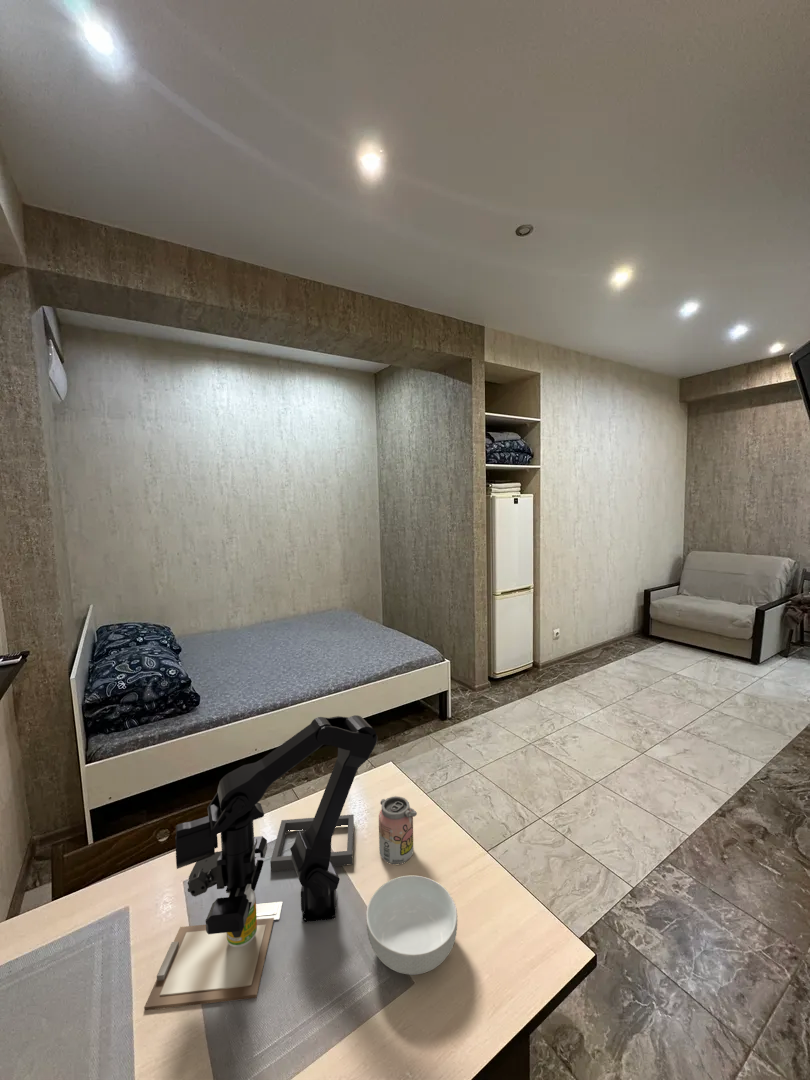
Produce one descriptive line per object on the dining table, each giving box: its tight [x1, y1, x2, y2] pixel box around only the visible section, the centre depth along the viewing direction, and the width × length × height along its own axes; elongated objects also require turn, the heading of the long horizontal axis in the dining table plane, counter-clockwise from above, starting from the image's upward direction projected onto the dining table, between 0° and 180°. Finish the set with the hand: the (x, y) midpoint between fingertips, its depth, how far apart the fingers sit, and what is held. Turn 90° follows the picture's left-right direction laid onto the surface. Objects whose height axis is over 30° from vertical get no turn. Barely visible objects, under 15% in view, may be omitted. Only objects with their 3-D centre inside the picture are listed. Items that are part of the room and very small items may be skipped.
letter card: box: [256, 901, 283, 922], centre depth 89 cm, size 6×4×1 cm, turn 95°
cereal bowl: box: [365, 874, 458, 976], centre depth 82 cm, size 17×17×7 cm
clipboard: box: [143, 918, 275, 1011], centre depth 80 cm, size 18×14×2 cm
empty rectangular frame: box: [270, 813, 355, 873], centre depth 107 cm, size 18×13×2 cm
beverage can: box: [378, 795, 418, 865], centre depth 104 cm, size 9×8×12 cm
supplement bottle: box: [227, 884, 257, 947], centre depth 83 cm, size 5×5×10 cm
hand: (241, 922), depth 83 cm, fingers closed on supplement bottle, 5 cm apart
